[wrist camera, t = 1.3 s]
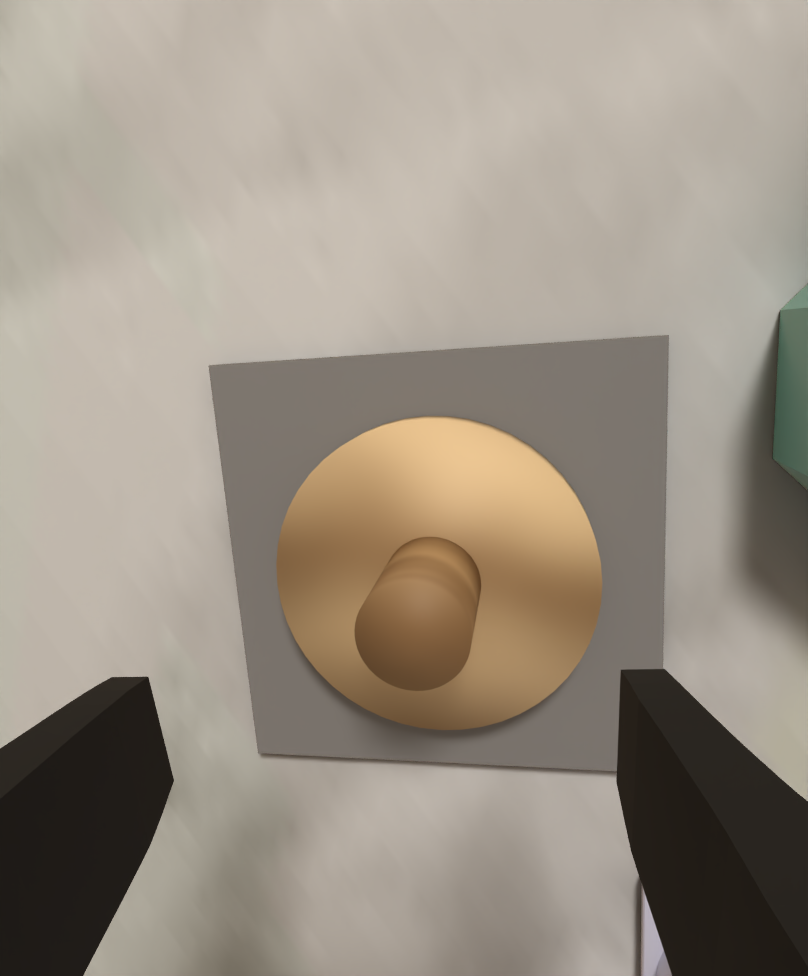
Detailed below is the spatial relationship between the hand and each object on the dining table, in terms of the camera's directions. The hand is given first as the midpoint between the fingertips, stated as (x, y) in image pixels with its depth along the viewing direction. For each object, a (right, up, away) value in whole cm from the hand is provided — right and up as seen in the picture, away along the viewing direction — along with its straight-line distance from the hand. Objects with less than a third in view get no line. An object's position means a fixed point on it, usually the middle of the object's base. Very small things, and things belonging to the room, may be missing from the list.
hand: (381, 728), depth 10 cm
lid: (+1, +1, +10) cm, 10 cm away
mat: (+1, +1, +10) cm, 10 cm away
